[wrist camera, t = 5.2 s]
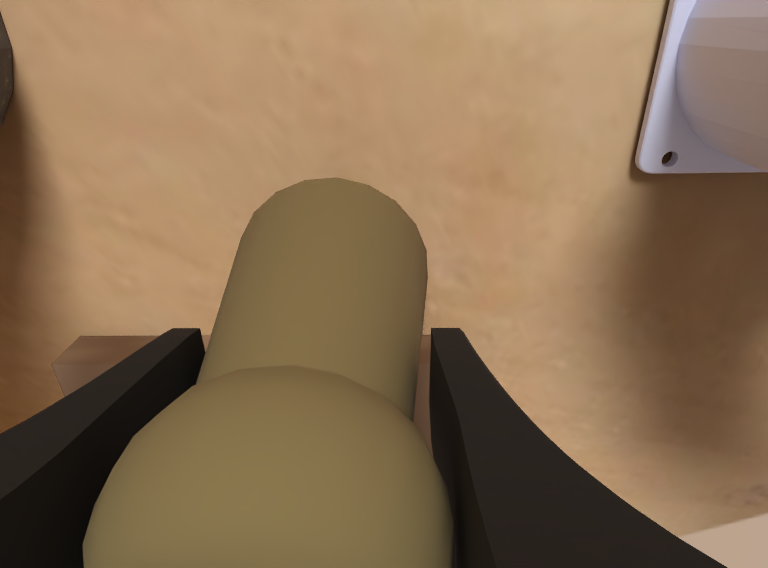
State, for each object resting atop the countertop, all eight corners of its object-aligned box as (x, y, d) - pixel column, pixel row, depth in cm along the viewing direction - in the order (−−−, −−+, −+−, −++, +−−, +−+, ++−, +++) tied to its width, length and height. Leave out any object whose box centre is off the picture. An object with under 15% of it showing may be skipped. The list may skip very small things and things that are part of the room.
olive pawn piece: (443, 329, 17) (533, 752, 7) (275, 364, 17) (136, 797, 7) (405, 155, 14) (463, 438, 4) (208, 203, 15) (-146, 549, 5)
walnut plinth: (449, 334, 21) (455, 367, 19) (440, 519, 26) (443, 558, 24) (80, 336, 21) (48, 367, 19) (148, 517, 27) (129, 555, 25)
